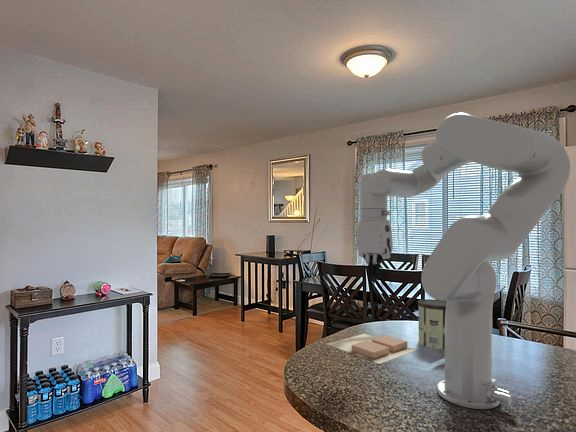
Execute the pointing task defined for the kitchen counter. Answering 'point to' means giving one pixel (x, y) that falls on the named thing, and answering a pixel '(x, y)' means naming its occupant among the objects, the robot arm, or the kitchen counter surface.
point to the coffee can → (432, 323)
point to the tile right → (390, 342)
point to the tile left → (370, 349)
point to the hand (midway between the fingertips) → (373, 277)
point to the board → (347, 346)
